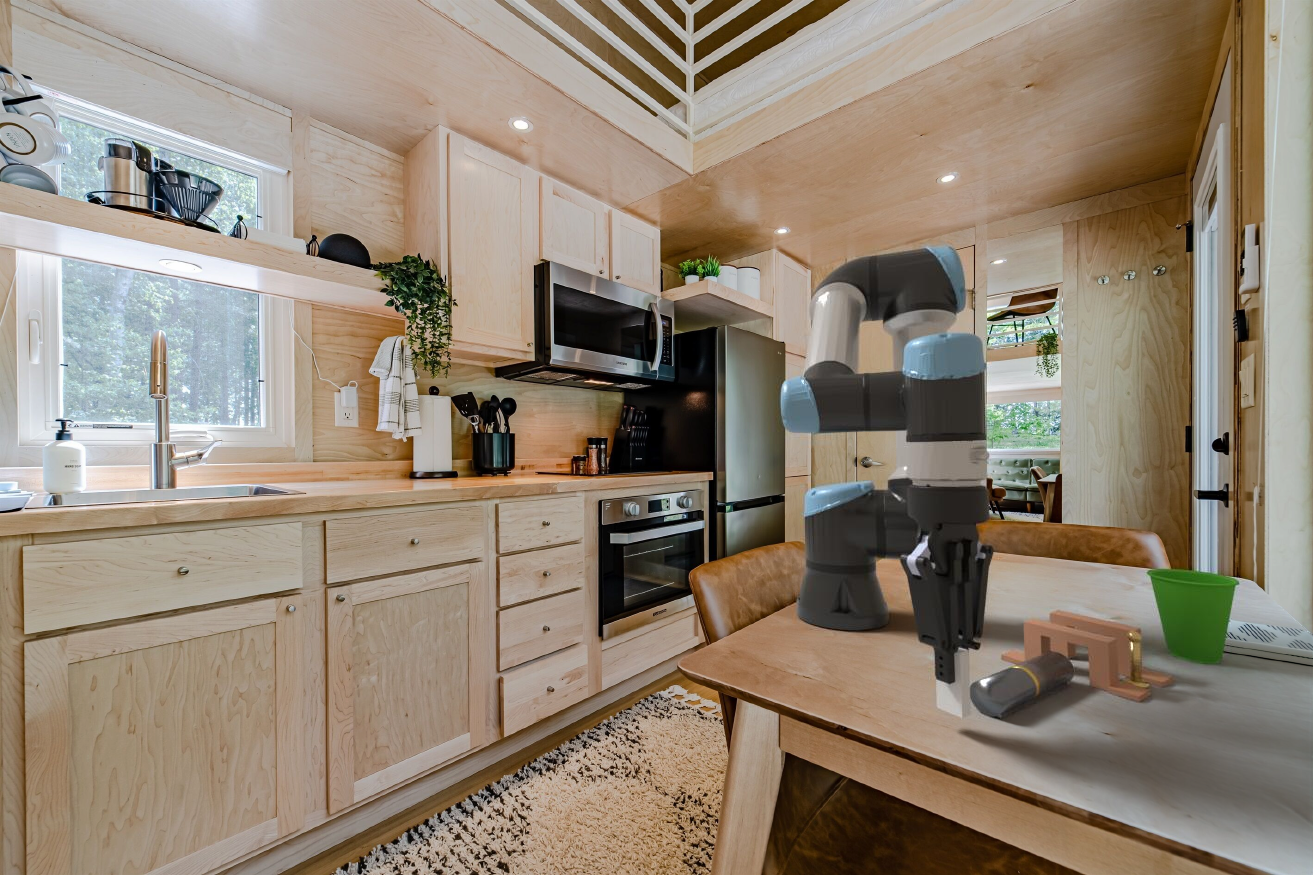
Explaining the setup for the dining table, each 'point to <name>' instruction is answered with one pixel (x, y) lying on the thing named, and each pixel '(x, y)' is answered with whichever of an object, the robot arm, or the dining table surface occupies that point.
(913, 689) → the dining table surface
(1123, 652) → the collar
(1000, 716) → the tube
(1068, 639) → the collar
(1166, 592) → the cup
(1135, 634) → the pointer post
